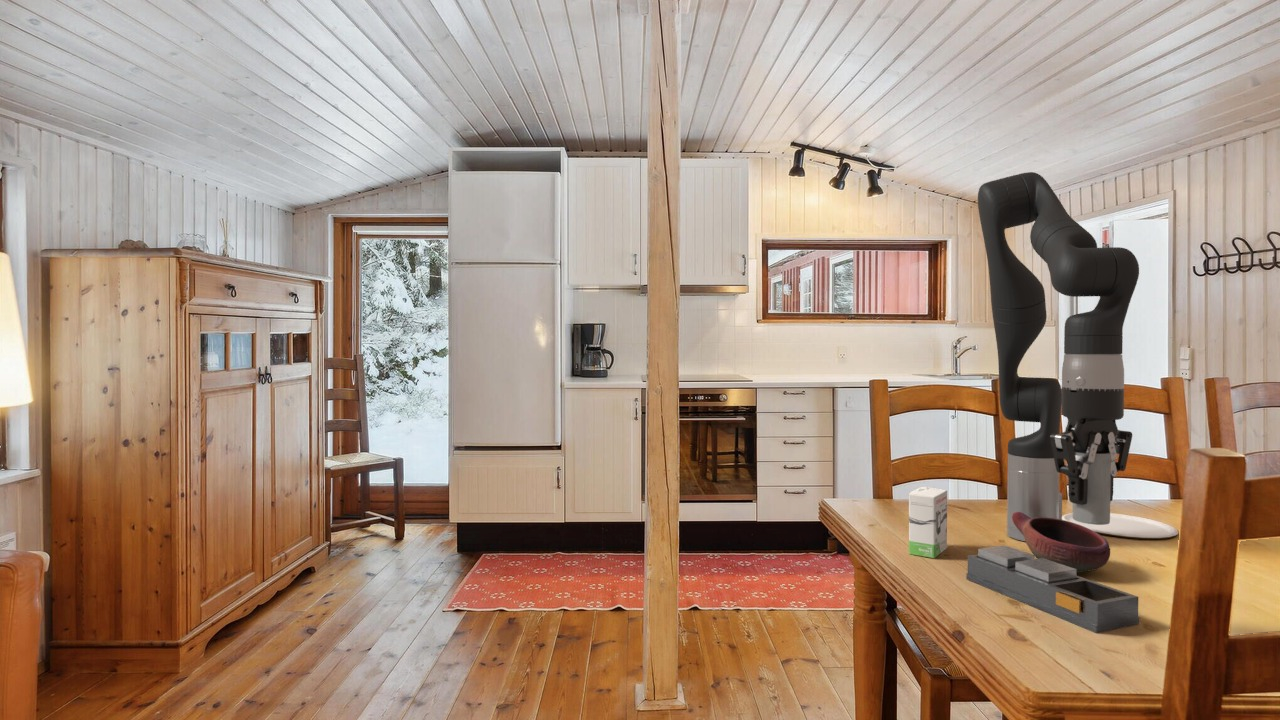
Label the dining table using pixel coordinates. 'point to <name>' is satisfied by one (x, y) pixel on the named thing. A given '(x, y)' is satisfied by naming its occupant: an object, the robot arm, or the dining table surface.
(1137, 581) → the dining table surface
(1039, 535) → the bowl
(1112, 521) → the plate
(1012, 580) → the grey compartment tray
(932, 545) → the ink box
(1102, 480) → the gray cylinder
